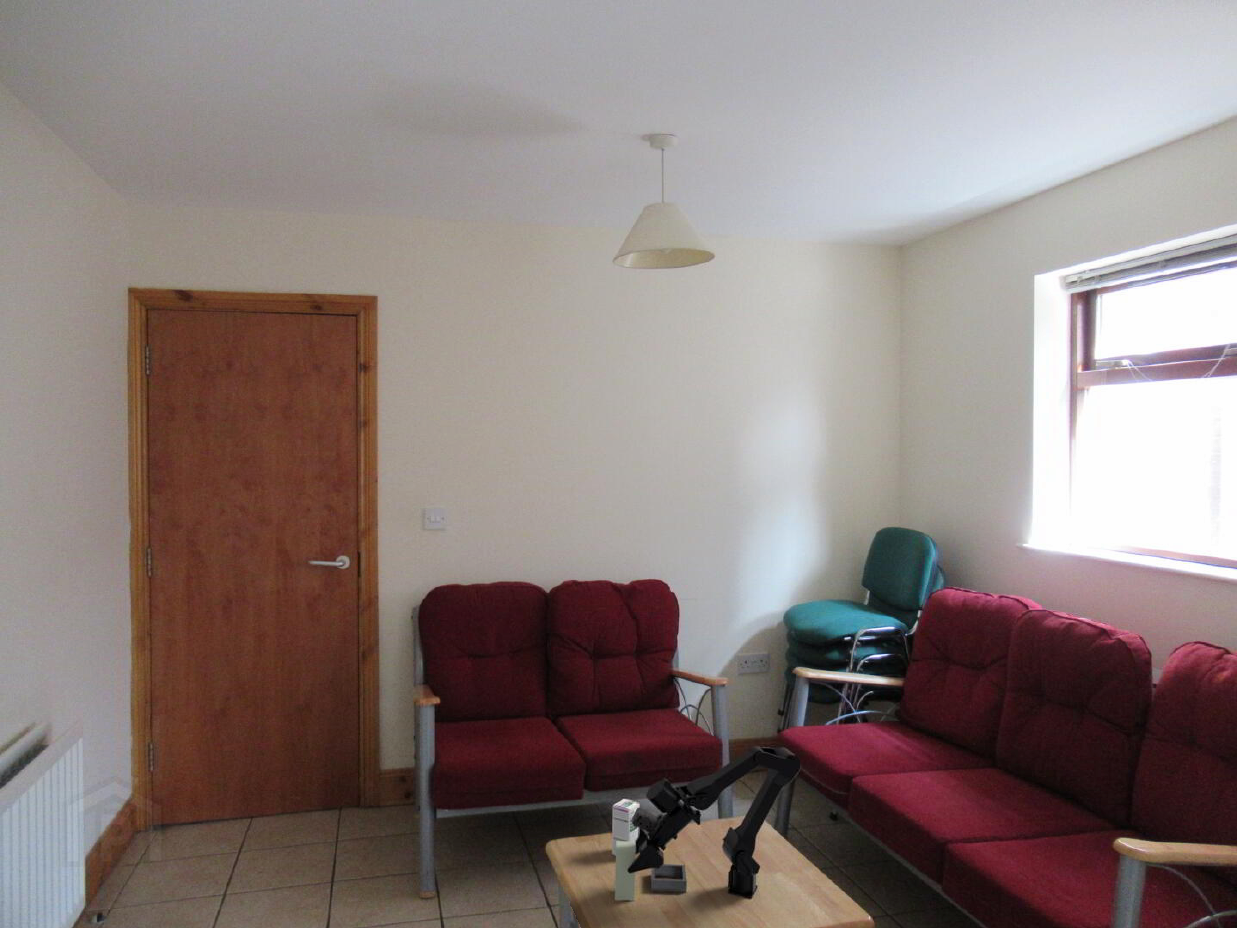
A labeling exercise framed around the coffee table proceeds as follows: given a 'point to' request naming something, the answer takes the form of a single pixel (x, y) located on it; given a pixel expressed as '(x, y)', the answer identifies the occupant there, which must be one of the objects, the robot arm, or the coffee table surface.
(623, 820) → the syrup box
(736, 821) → the coffee table surface
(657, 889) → the square socket
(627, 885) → the sage block
